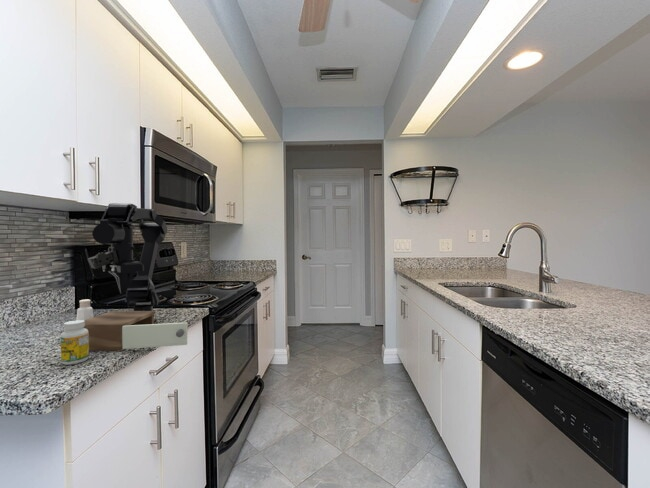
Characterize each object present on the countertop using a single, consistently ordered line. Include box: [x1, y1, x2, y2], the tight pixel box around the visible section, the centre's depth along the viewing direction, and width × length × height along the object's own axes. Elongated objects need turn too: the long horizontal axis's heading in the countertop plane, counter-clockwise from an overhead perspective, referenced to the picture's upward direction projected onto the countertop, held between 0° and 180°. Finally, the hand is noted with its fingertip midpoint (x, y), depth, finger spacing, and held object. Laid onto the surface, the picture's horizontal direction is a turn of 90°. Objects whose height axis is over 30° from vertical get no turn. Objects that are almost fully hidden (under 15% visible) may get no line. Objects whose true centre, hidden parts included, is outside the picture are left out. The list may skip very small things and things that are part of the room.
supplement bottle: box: [59, 319, 90, 366], centre depth 76 cm, size 5×5×10 cm
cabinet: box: [84, 310, 156, 352], centre depth 91 cm, size 16×14×7 cm
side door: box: [122, 321, 188, 350], centre depth 84 cm, size 16×2×6 cm, turn 100°
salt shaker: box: [75, 298, 95, 320], centre depth 97 cm, size 5×5×11 cm
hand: (122, 293), depth 97 cm, fingers closed
